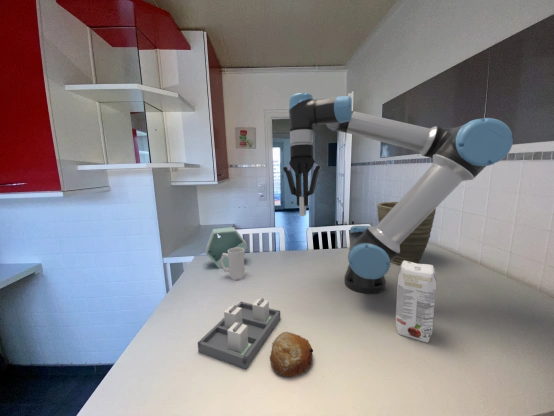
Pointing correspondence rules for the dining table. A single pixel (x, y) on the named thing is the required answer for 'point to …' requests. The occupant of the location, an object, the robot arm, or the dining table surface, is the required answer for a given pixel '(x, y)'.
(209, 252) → the planter
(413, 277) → the juice carton
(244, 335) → the tab near
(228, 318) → the tab mid
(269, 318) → the switch bank
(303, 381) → the dining table surface
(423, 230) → the vase
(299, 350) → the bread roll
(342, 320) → the dining table surface
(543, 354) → the dining table surface
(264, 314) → the tab far
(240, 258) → the mug
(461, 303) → the dining table surface
